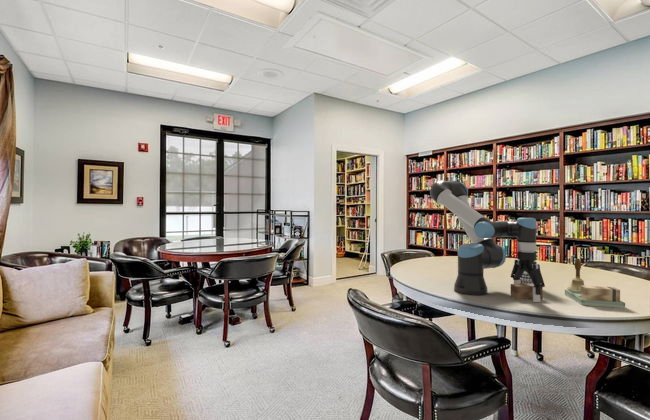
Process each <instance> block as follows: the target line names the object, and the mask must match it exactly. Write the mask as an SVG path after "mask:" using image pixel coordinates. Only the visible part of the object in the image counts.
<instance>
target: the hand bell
mask: <svg viewBox="0 0 650 420" xmlns="http://www.w3.org/2000/svg"><path fill="white" fill-rule="evenodd" d="M574 269H575V277H574V278H572V279H571V284H570V285H569V286H568V287H567V289H566V290H577V291H581V285H582V286H585V283H584V282H585V281H584V280H583V279H582V278H581V270H582V262H581V260H580V258H576V259H575V261H574Z"/></svg>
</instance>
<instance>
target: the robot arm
mask: <svg viewBox="0 0 650 420" xmlns="http://www.w3.org/2000/svg"><path fill="white" fill-rule="evenodd" d="M429 194H430V195H429V196H430V197H431V199H432V200H433V201H434V202H435V203H436V204H438V205H440V206H444V207H445V209H448V210H449V211H450V212H451V213H453V214H454V215H455V216H456V217H457V219H458V221H459V222H460V225H462V227H463V229H464V231H465V233H466V235H467V237H468V238H469V241H470V242H471V243H463V244H460V245H458V248H457V277H456V279H455V282H454V286H453V290H454V292H457V293H459V294H463V295H464V294H465V295H470V296H482V295H487V294H488V286H487V283H486V280H485V278H484V277H485V276H484V269H485V270H486V269H495V268H499V267H501V266H503V265H504V264H505V262H506V259H507V252H506V250H505V248H504V247H503V246H502V245H500V244H497V243H496V242H495V240H494V238H505V237H506V238H516V250H517V251H518V252H517V251H516V258H517V259H514V264H513V267H512V269H511V270H512V271H511V274H510V278H512V280H513V284H521V279H520V277H521V276H522V274H523V273H524V271H525V272H527V273H528V274H529V275H530V278H531V280H532V282H533V284H534V286H533V299H532V302H534V303H540V302H541V299H540V295H541V287H543V288H545V287H546V285H545V282H544V278H543V274H542V272H541V266H540V264H538V263H537V264H534V261H535V262H536V261H537V260H536V258H537V257H536V255H537V253H536V252H535V251H537V228H538V227H537V219H536V218H535V217H518V218H517V219H516V221H505V220H496V221H491V220H489V218H486V216H484V215H483V214H481V213H479V212H478V211H477V210H475V209H474V208H473V207H471V205H470V204H469V201H468V200H469V196H468V195H469V189H468V186H467V185H466V184H465V183H463V182H461V181H459V180H458V181H456V180H455V181H450V180H449V181H448V180H438V181H436V182H434V183H433V184H432V185H431V187H430V189H429ZM518 259H519V260H518Z"/></svg>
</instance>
